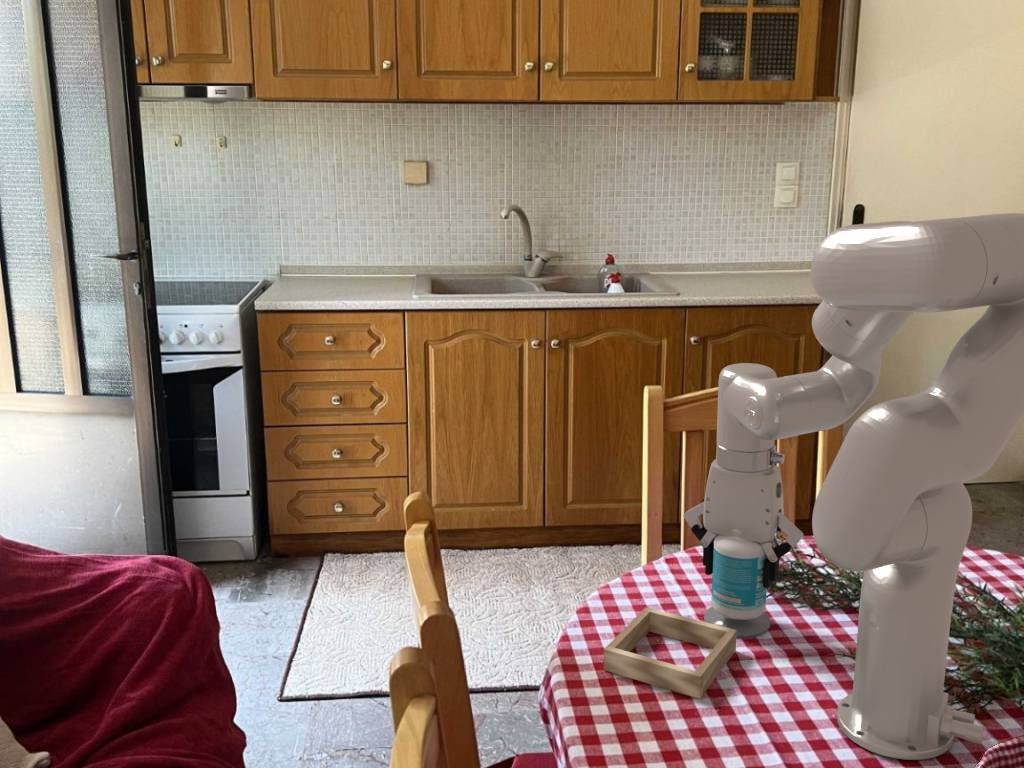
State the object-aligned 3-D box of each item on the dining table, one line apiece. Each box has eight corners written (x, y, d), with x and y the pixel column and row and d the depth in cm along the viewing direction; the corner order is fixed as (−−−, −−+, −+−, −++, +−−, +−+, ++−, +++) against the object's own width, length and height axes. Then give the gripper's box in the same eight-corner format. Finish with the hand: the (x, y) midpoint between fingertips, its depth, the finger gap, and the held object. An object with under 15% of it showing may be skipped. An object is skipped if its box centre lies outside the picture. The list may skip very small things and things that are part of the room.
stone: (778, 616, 141) (778, 612, 141) (757, 644, 134) (758, 640, 134) (717, 601, 146) (717, 597, 146) (694, 627, 138) (694, 623, 138)
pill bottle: (766, 624, 135) (771, 531, 131) (710, 620, 136) (714, 528, 133) (764, 599, 142) (769, 510, 138) (711, 594, 143) (714, 507, 140)
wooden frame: (735, 650, 132) (736, 630, 131) (699, 698, 122) (700, 676, 121) (645, 626, 139) (646, 607, 138) (603, 670, 128) (603, 649, 127)
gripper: (818, 458, 132) (810, 580, 136) (693, 439, 141) (690, 554, 145) (801, 475, 126) (794, 603, 130) (672, 454, 135) (670, 574, 139)
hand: (739, 577), depth 138 cm, fingers open, 7 cm apart
